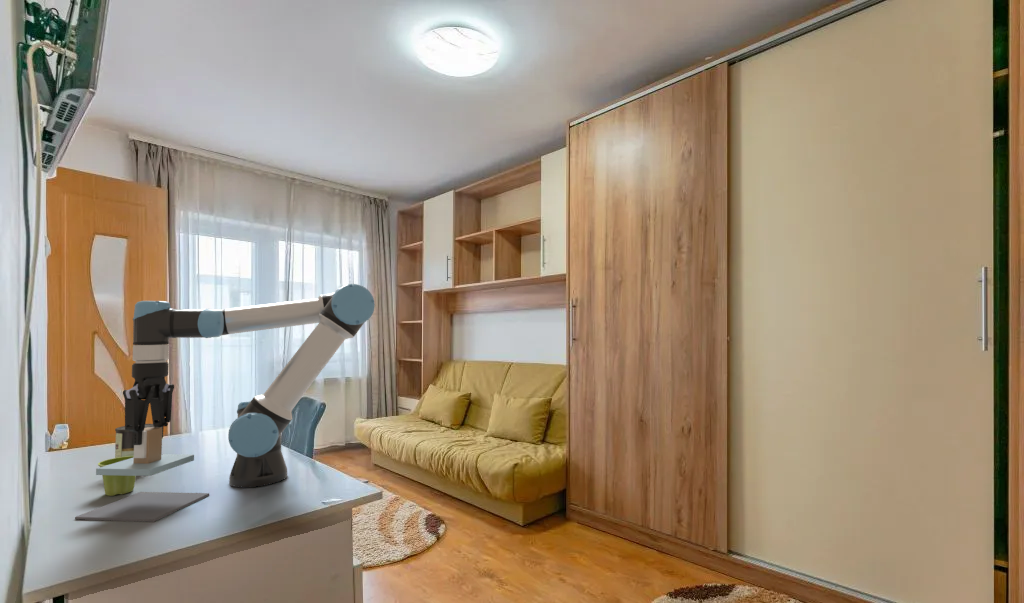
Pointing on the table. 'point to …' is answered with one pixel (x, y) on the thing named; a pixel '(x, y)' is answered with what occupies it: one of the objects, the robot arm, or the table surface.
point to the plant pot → (117, 479)
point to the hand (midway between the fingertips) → (147, 455)
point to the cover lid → (147, 459)
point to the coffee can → (125, 442)
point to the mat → (143, 506)
